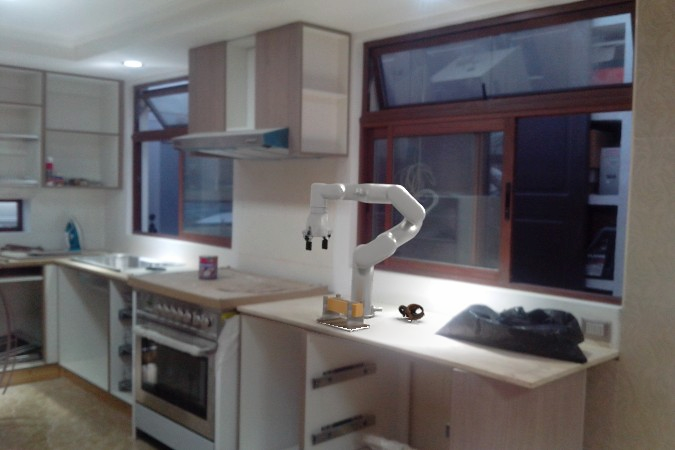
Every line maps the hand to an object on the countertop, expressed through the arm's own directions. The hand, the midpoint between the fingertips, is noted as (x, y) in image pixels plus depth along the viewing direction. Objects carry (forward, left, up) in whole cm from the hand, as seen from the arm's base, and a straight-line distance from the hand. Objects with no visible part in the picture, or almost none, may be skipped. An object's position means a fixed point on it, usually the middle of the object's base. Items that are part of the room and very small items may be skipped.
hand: (316, 249), depth 282 cm
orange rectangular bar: (-7, +23, -23) cm, 33 cm away
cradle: (-7, +23, -28) cm, 37 cm away
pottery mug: (-40, +16, -29) cm, 52 cm away
